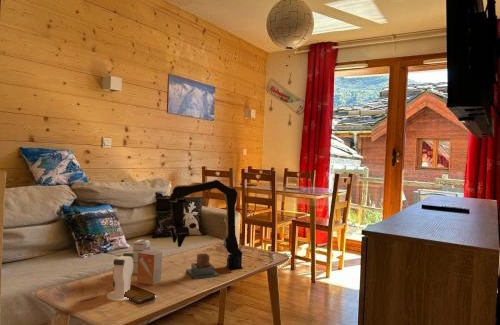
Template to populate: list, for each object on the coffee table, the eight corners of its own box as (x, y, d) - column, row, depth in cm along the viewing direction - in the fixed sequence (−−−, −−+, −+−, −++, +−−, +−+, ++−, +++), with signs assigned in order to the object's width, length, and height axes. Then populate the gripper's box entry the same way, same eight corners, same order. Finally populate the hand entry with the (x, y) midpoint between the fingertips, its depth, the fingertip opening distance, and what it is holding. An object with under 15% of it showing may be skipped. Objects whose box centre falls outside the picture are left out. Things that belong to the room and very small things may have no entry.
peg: (205, 270, 173) (206, 253, 173) (208, 273, 169) (209, 255, 169) (196, 271, 171) (197, 254, 171) (199, 273, 167) (200, 256, 167)
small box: (136, 283, 154) (137, 252, 154) (145, 278, 160) (146, 249, 160) (153, 285, 152) (154, 254, 152) (161, 281, 158) (162, 251, 158)
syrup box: (143, 274, 166) (144, 242, 166) (131, 273, 167) (132, 241, 167) (149, 270, 171) (150, 240, 171) (138, 269, 172) (139, 238, 172)
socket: (210, 268, 178) (210, 260, 178) (219, 276, 167) (219, 267, 167) (186, 271, 173) (186, 262, 172) (193, 279, 162) (194, 270, 162)
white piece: (114, 288, 147) (115, 251, 147) (142, 290, 147) (143, 252, 147) (101, 300, 135) (102, 259, 135) (131, 301, 135) (133, 261, 135)
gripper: (156, 209, 179) (155, 241, 179) (165, 215, 162) (164, 250, 162) (179, 209, 184) (178, 240, 184) (189, 215, 167) (188, 248, 167)
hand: (176, 244), depth 174 cm, fingers open, 9 cm apart
